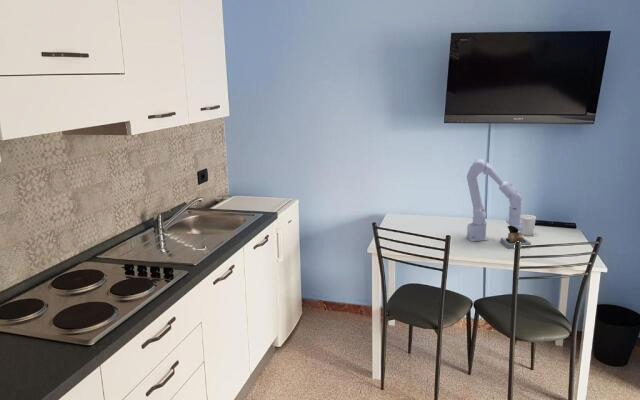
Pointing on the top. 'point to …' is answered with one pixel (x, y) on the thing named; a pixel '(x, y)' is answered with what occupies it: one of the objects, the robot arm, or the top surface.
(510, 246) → the bay
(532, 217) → the white cup
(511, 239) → the tan rounded lump
